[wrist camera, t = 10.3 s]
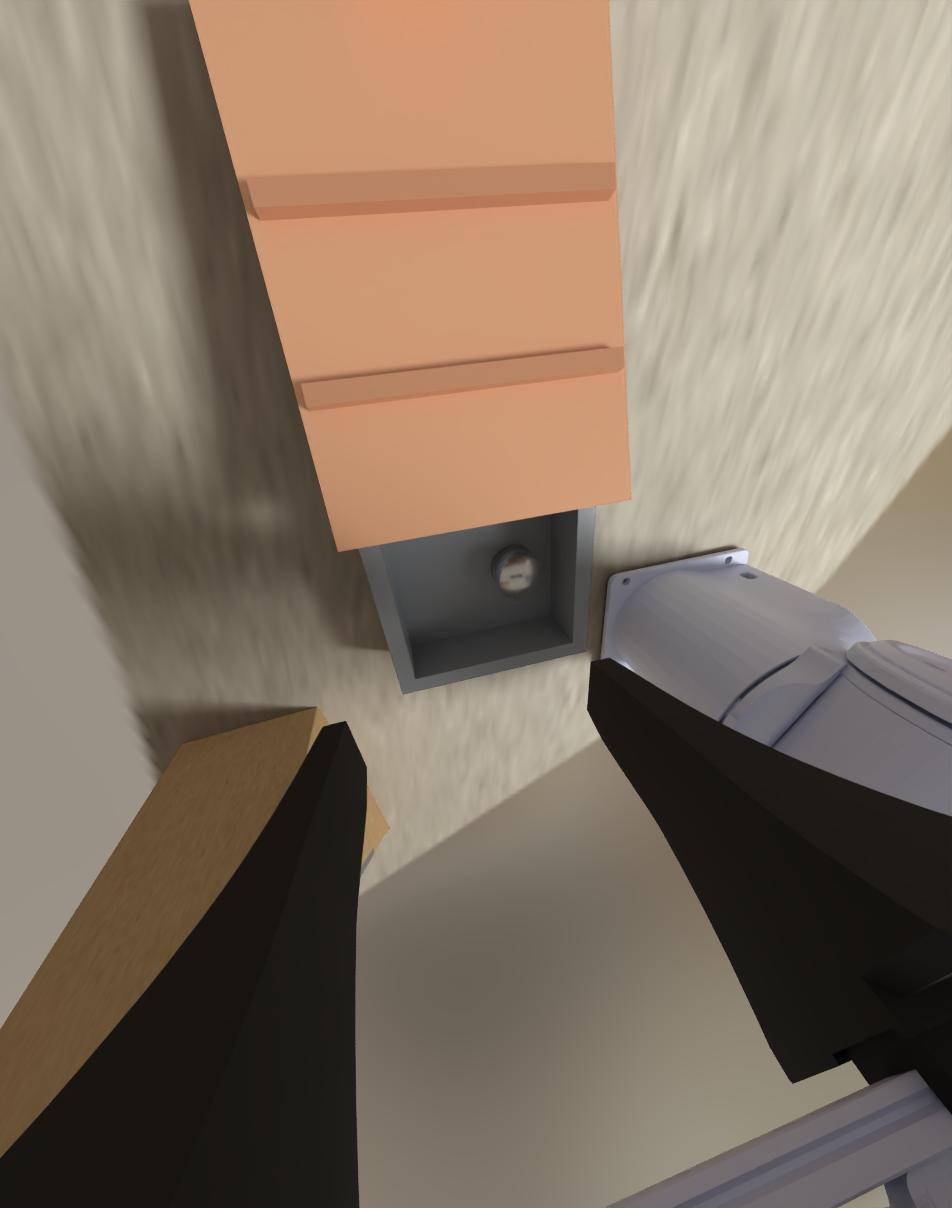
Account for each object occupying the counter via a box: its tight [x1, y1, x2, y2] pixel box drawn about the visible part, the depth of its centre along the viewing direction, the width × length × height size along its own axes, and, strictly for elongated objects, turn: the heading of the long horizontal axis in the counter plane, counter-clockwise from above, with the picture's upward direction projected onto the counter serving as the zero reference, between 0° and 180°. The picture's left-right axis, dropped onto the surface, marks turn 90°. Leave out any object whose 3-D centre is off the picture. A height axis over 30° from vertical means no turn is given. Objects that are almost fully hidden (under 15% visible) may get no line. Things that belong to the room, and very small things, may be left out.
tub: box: [358, 506, 596, 694], centre depth 16 cm, size 10×13×4 cm
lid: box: [189, 0, 631, 552], centre depth 9 cm, size 11×18×3 cm, turn 7°
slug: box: [491, 545, 546, 601], centre depth 18 cm, size 2×2×2 cm
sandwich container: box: [0, 707, 390, 1158], centre depth 18 cm, size 9×15×15 cm, turn 10°
